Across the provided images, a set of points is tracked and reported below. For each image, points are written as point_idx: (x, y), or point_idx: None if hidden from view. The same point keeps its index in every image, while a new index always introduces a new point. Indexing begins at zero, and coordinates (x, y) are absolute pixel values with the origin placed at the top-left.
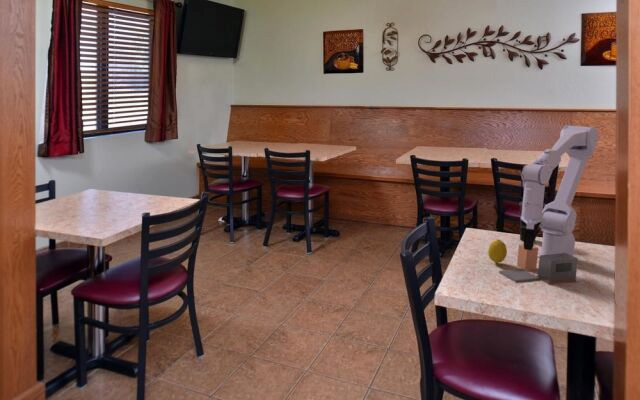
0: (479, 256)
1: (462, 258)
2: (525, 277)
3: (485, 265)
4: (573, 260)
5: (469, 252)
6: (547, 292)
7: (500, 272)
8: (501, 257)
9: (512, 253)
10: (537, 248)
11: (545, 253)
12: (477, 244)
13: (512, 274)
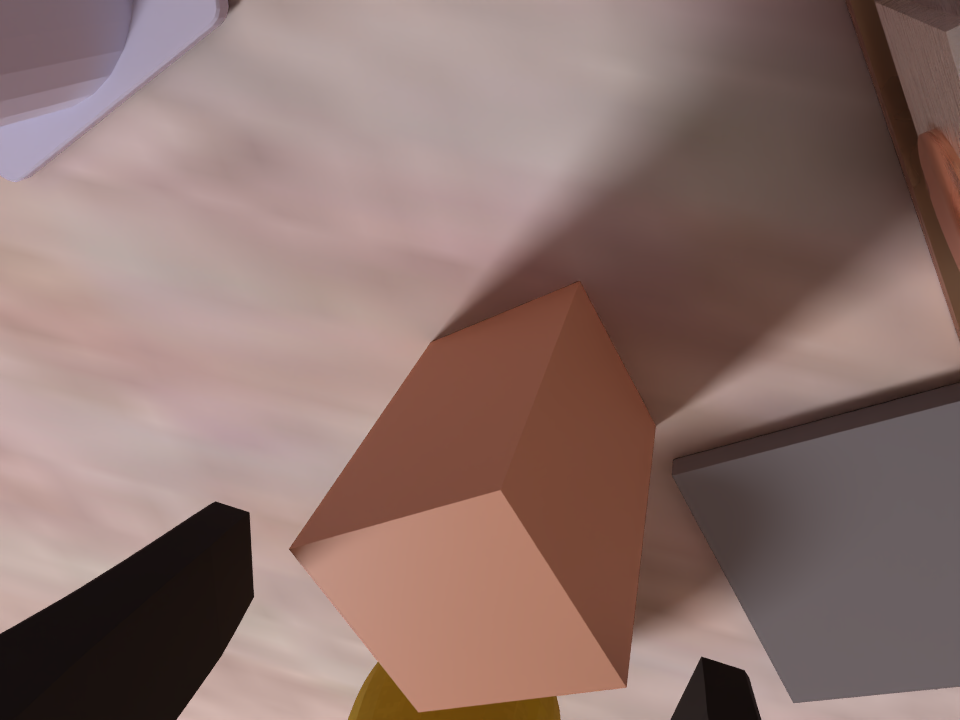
0: (331, 682)
1: None
2: None
3: (575, 715)
4: None
5: (260, 713)
6: None
7: (814, 690)
8: (553, 707)
9: (93, 403)
10: (512, 493)
11: (55, 88)
12: (21, 607)
13: (926, 632)
